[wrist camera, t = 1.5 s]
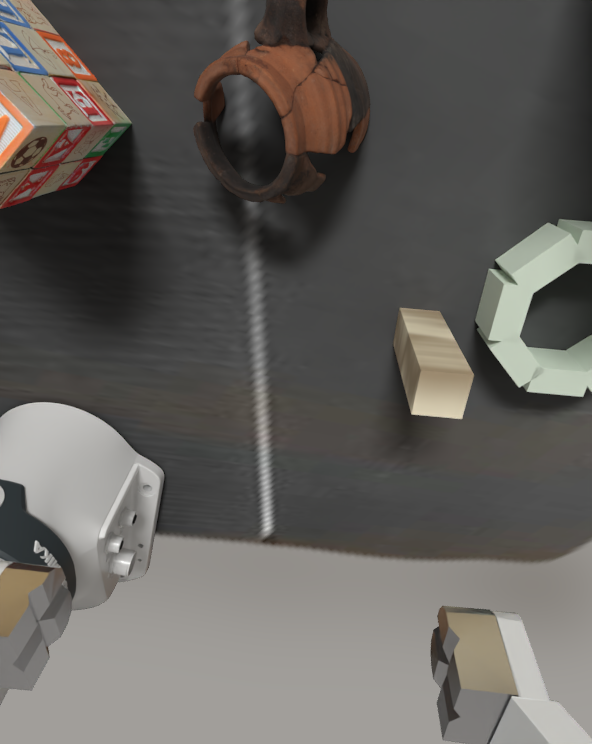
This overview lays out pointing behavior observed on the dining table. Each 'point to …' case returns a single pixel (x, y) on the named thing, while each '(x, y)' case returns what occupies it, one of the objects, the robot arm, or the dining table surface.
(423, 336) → the wooden block
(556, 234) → the sage ring
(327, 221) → the dining table surface
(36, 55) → the stack of blocks
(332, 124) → the pottery mug
